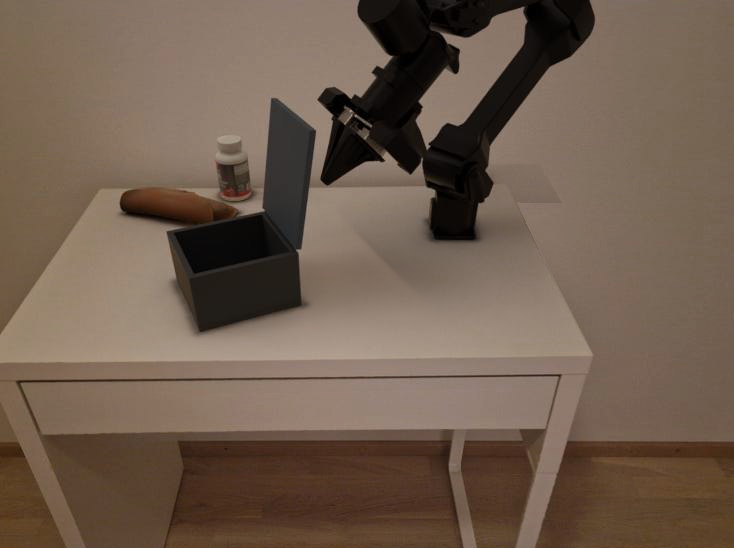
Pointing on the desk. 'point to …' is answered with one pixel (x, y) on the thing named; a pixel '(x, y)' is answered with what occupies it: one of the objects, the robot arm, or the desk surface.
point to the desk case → (235, 269)
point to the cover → (288, 171)
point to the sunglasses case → (175, 205)
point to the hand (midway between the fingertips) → (323, 183)
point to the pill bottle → (232, 169)
